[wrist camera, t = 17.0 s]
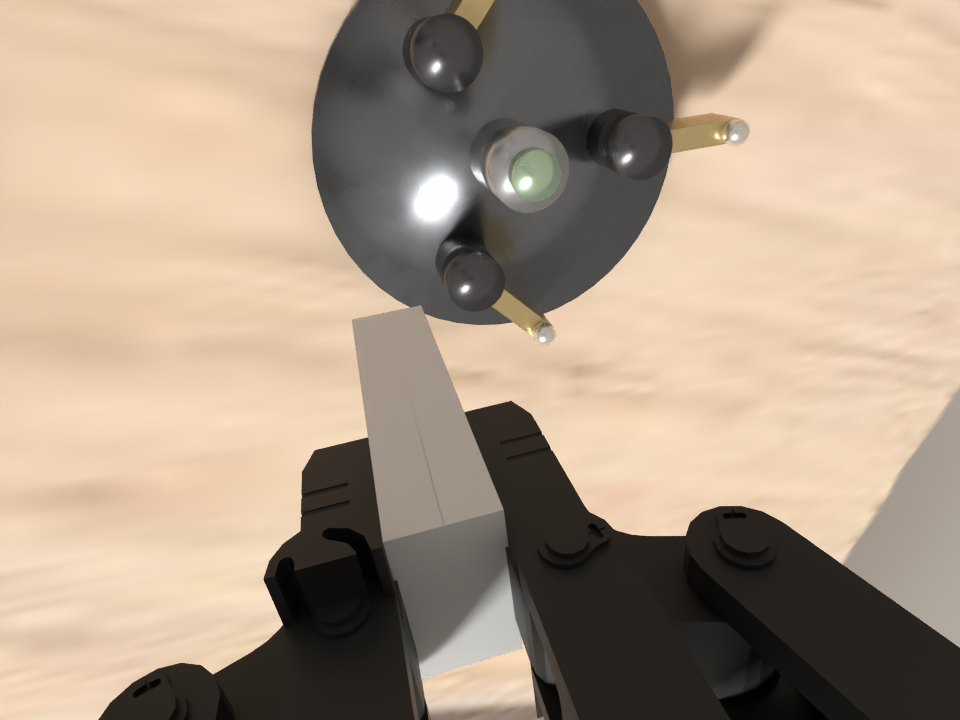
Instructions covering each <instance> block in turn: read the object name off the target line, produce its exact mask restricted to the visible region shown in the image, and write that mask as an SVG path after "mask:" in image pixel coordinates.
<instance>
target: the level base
mask: <svg viewBox="0 0 960 720" xmlns="http://www.w3.org/2000/svg"><path fill="white" fill-rule="evenodd" d="M451 1H452V0H359V1H358V2H357V4H356V5H355V6H354V8H353V9H352V11H351V12H350V13H349V15H348V16H347V18H346V19H345V20H344V22H343V23H342V25H341V27H340V29H339V31H338V33H337V34H336V36H335V38H334V40H333V42H332V44H331V46H330V48H329V50H328V53H327V56H326V59H325V61H324V64H323V67H322V70H321V72H320V76H319V80H318V85H317V90H316V94H315V99H314V107H313V119H312V152H313V164H314V170H315V175H316V181H317V187H318V190H319V193H320V196H321V199H322V203H323V206H324V209H325V212H326V214H327V216H328V218H329V221H330V223H331V225H332V227H333V229H334V232H335V234H336V235H337V237H338V239H339V240H340V242H341V243H342V245H343V247H344V248H345V250H346V251H347V253H348V254H349V256H350V257H351V258H352V259H353V261H354V262H355V263H356V264H357V265H358V267H359V268H360V269H361V270H362V271H363V273H365V274H366V275H367V276H368V277H369V278H370V279H371V280H372V281H373V282H374V283H375V284H376V285H377V286H379V287H380V288H381V289H382V290H384V291H385V292H386V293H388V294H389V295H391V296H392V297H394V298H395V299H396V300H398V301H400V302H401V303H403V304H405V305H407V306H409V307H415V306H420V305H421V307H422V309H423V312H424V314H427V315H430V316H433V317H435V318H439V319H443V320H447V321H452V322H456V323H464V324H474V325H492V324H504V323H511V322H512V321H511V320H510V319H508V318H507V317H506V316H504V315H503V314H501V313H500V312H499V311H497V310H496V309H495V308H493V307H492V306H491V307H489V308H487V309H485V310H482V311H476V312H472V311H467V310H464V309H461V308H460V307H458V306H457V305H456V304H455V303H454V302H453V300H452V299H451V297H450V295H449V293H448V291H447V290H446V288H445V286H444V284H443V282H442V280H441V278H440V276H439V274H438V272H437V270H436V266H435V259H436V255H437V252H438V250H439V248H440V247H441V245H442V244H443V243H444V242H445V241H447V240H448V239H450V238H452V237H454V236H458V235H467V236H471V237H474V238H476V239H477V240H479V241H480V242H481V243H482V245H483V246H484V247H485V248H486V249H487V251H488V252H489V253H490V254H491V256H492V257H493V258H494V259H495V260H496V262H497V263H498V264H499V265H500V267H501V268H502V270H503V272H504V275H505V284H507V285H508V286H509V287H511V288H512V289H513V290H514V291H516V292H517V293H518V294H520V295H521V296H522V297H524V298H525V299H526V300H527V301H529V302H530V303H531V304H533V305H534V306H535V307H536V308H538V309H539V310H540V311H541V312H542V314H544V313H547V312H549V311H552V310H554V309H557V308H559V307H560V306H562V305H564V304H566V303H568V302H570V301H572V300H573V299H575V298H577V297H578V296H580V295H581V294H583V293H584V292H585V291H587V290H588V289H590V288H591V287H593V286H594V285H595V284H596V283H597V282H598V281H600V280H601V279H602V278H603V277H604V276H605V275H606V274H608V273H609V272H610V271H611V270H612V269H613V267H614V266H615V265H616V264H617V263H618V262H619V261H620V260H621V259H622V258H623V257H624V255H625V254H626V253H627V251H628V250H629V249H630V247H631V246H632V245H633V243H634V242H635V241H636V239H637V238H638V236H639V235H640V233H641V231H642V229H643V228H644V226H645V224H646V223H647V221H648V219H649V217H650V215H651V213H652V211H653V208H654V206H655V204H656V202H657V200H658V197H659V194H660V191H661V188H662V185H663V182H664V179H665V176H666V172H667V168H668V163H669V160H668V162H667V164H666V165H665V167H664V168H663V169H662V170H661V171H660V172H659V173H658V174H657V175H655V176H654V177H652V178H650V179H647V180H641V181H637V180H633V179H630V178H628V177H625V176H623V175H621V174H619V173H616V172H614V171H612V170H610V169H607V168H605V167H603V166H601V165H599V164H597V163H595V162H594V161H593V160H592V158H591V157H590V155H589V153H588V150H587V145H586V139H587V133H588V130H589V128H590V126H591V124H592V122H593V121H594V120H595V119H596V117H598V116H599V115H600V114H601V113H603V112H605V111H607V110H610V109H621V110H626V111H630V112H634V113H638V114H643V115H647V116H651V117H656V118H658V119H660V120H662V121H666V120H672V119H673V98H672V90H671V82H670V76H669V72H668V68H667V64H666V61H665V57H664V53H663V51H662V48H661V45H660V43H659V40H658V38H657V35H656V33H655V30H654V28H653V27H652V25H651V23H650V21H649V19H648V18H647V16H646V14H645V12H644V10H643V9H642V7H641V6H640V4H639V3H638V2H637V0H495V1H494V2H493V4H492V6H491V7H490V9H489V10H488V12H487V14H486V15H485V17H484V19H483V20H482V22H481V23H480V25H479V27H478V28H477V32H478V34H479V36H480V38H481V41H482V46H483V63H482V67H481V69H480V72H479V74H478V76H477V77H476V79H475V80H474V81H473V82H472V84H470V85H469V86H468V87H467V88H465V89H463V90H461V91H458V92H454V93H445V92H440V91H437V90H435V89H433V88H430V87H428V86H426V85H423V84H421V83H419V82H418V81H417V80H415V79H414V78H413V77H412V76H411V74H410V73H409V72H408V70H407V68H406V66H405V63H404V59H403V50H402V49H403V42H404V38H405V35H406V33H407V31H408V30H409V28H410V27H411V26H412V25H413V24H414V23H415V22H417V21H418V20H420V19H422V18H425V17H429V16H434V15H440V14H444V13H445V12H446V10H447V8H448V7H449V5H450V3H451Z"/></svg>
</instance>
